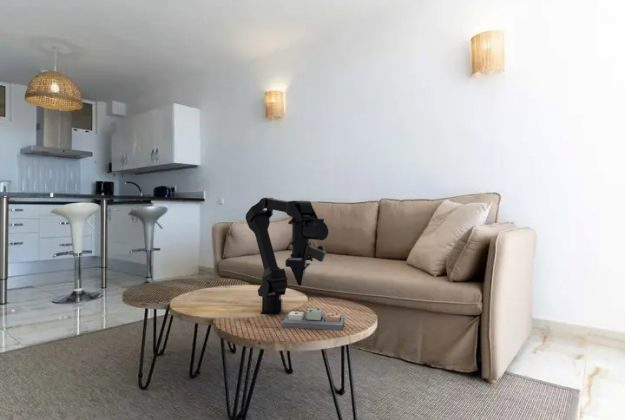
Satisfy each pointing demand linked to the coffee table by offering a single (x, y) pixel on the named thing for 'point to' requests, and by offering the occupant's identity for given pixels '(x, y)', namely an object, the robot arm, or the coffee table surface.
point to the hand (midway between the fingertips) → (299, 285)
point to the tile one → (296, 315)
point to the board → (314, 323)
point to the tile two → (314, 314)
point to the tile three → (332, 317)
